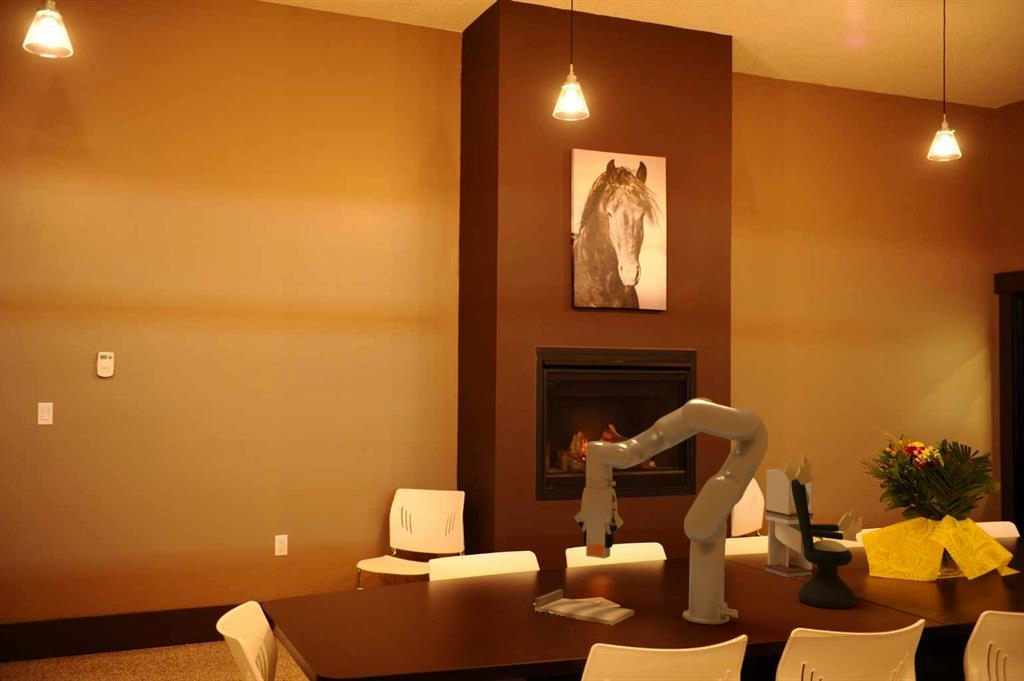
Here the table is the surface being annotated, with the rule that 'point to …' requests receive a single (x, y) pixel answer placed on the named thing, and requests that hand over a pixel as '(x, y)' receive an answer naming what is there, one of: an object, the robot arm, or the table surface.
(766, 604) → the table surface
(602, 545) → the skincare box
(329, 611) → the table surface
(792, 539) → the white pedestal stand
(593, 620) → the board
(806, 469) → the black chair
